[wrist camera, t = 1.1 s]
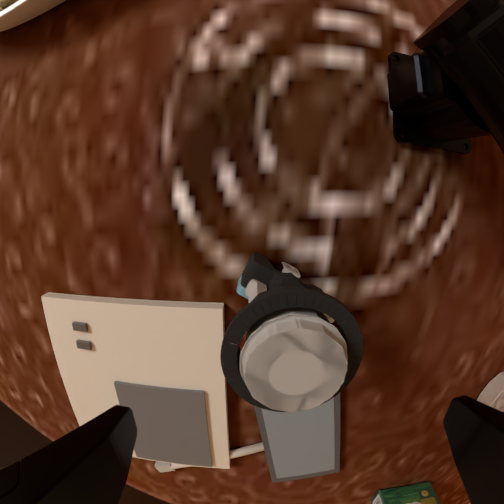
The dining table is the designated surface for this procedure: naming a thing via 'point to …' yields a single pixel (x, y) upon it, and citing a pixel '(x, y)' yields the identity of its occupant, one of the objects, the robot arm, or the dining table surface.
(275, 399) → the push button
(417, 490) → the coffee box
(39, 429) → the dining table surface
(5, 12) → the bowl
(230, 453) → the wooden dowel
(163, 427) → the outlet plate
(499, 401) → the white cup
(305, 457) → the phone slab
